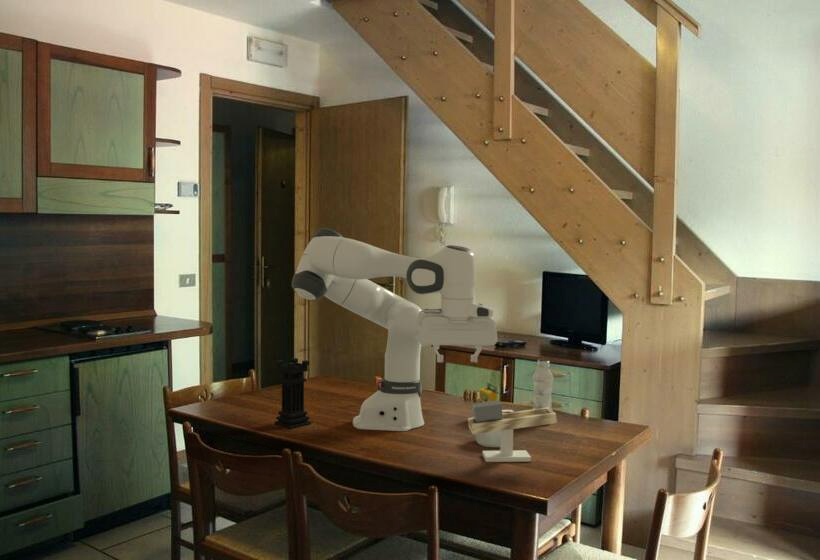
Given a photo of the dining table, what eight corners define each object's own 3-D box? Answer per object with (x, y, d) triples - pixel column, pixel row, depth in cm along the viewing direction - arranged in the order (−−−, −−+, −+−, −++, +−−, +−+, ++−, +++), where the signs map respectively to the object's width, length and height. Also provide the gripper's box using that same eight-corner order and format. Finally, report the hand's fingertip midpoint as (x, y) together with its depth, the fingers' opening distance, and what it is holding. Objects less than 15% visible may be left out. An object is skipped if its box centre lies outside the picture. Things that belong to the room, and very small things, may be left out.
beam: (472, 434, 192) (471, 424, 192) (468, 426, 199) (467, 416, 199) (556, 422, 193) (555, 412, 193) (549, 415, 201) (548, 405, 200)
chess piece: (274, 424, 234) (274, 360, 232) (294, 419, 240) (295, 357, 238) (290, 429, 228) (290, 364, 227) (311, 424, 234) (311, 361, 233)
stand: (486, 461, 199) (487, 413, 198) (482, 455, 205) (483, 408, 204) (530, 461, 200) (532, 413, 199) (525, 454, 206) (526, 407, 205)
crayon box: (478, 418, 244) (479, 383, 244) (487, 417, 245) (487, 382, 245) (488, 423, 238) (489, 387, 237) (497, 423, 239) (497, 387, 238)
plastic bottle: (552, 425, 236) (554, 362, 235) (531, 424, 237) (532, 361, 236) (553, 420, 242) (554, 359, 241) (531, 419, 244) (533, 358, 242)
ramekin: (520, 445, 215) (520, 427, 214) (489, 451, 209) (490, 432, 208) (495, 435, 224) (495, 418, 224) (465, 441, 218) (465, 423, 218)
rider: (476, 426, 193) (474, 407, 193) (474, 422, 197) (472, 404, 197) (503, 422, 194) (501, 404, 193) (500, 419, 198) (498, 400, 197)
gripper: (418, 310, 189) (417, 364, 190) (499, 310, 190) (497, 364, 191) (416, 307, 195) (416, 360, 196) (494, 307, 197) (493, 360, 198)
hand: (457, 362), depth 194 cm, fingers open, 7 cm apart
